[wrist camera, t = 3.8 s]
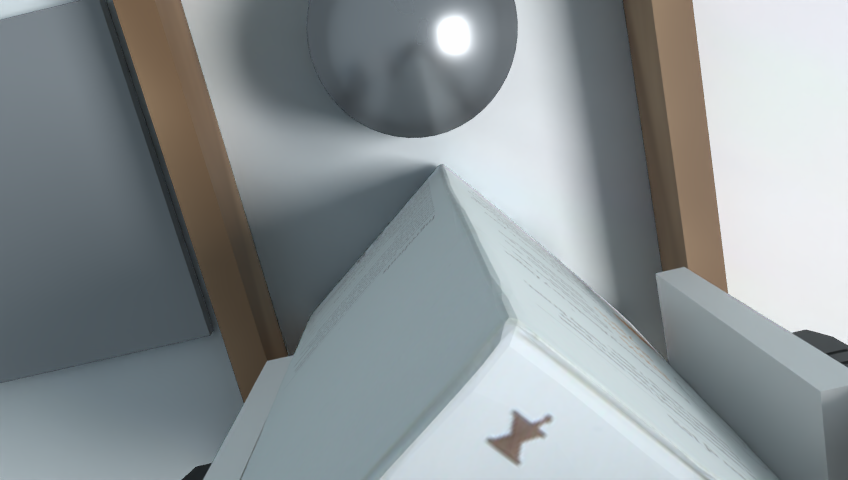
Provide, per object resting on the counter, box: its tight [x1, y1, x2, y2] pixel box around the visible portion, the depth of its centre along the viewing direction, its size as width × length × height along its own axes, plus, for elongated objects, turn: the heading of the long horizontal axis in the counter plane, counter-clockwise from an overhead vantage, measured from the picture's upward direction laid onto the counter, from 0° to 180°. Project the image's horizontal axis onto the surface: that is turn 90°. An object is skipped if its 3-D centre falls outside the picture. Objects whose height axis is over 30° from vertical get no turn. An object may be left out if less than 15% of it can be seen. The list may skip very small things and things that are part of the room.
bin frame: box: [113, 0, 728, 403], centre depth 18 cm, size 14×20×2 cm
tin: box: [307, 0, 518, 138], centre depth 16 cm, size 5×5×3 cm
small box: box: [241, 164, 780, 480], centre depth 13 cm, size 8×6×13 cm
